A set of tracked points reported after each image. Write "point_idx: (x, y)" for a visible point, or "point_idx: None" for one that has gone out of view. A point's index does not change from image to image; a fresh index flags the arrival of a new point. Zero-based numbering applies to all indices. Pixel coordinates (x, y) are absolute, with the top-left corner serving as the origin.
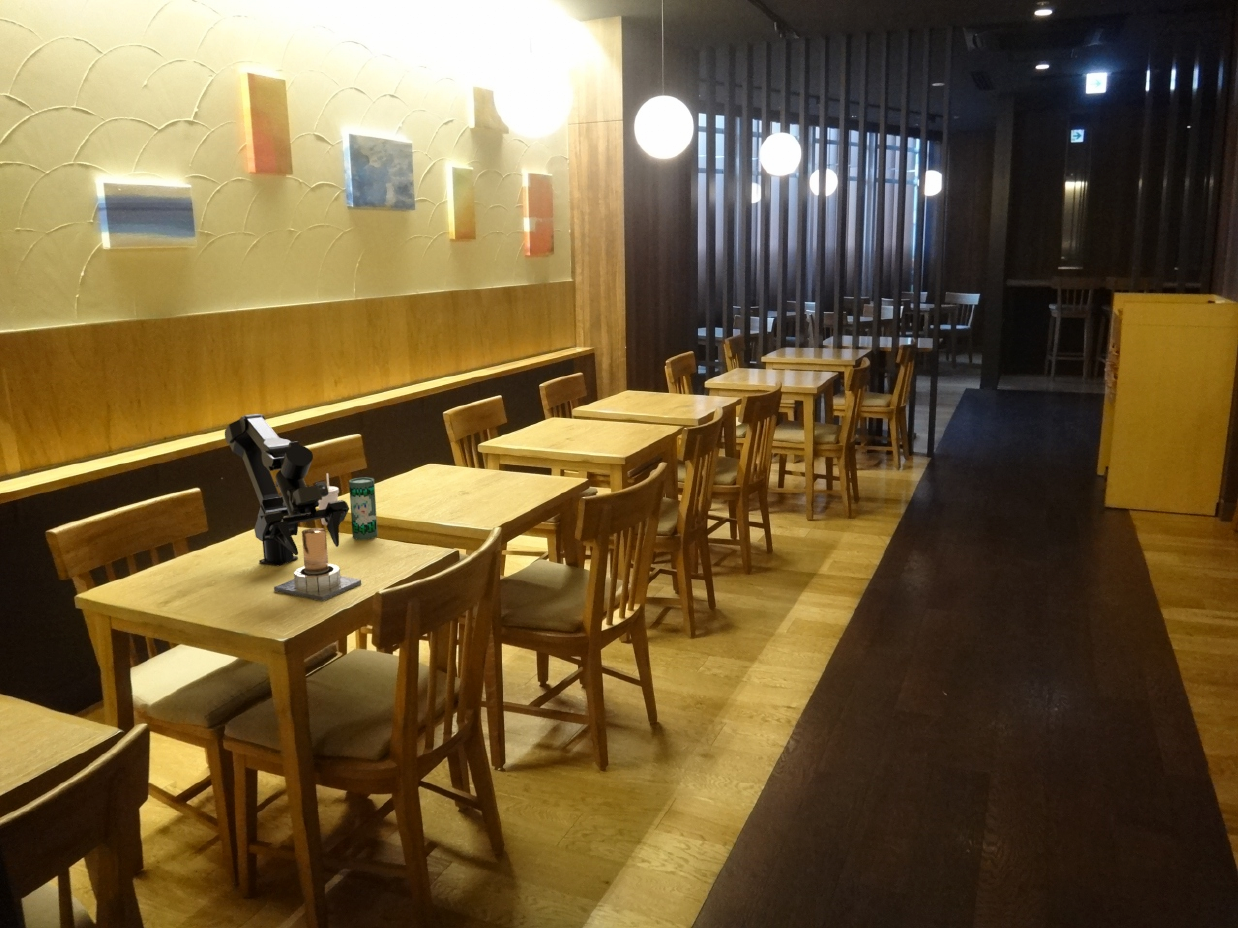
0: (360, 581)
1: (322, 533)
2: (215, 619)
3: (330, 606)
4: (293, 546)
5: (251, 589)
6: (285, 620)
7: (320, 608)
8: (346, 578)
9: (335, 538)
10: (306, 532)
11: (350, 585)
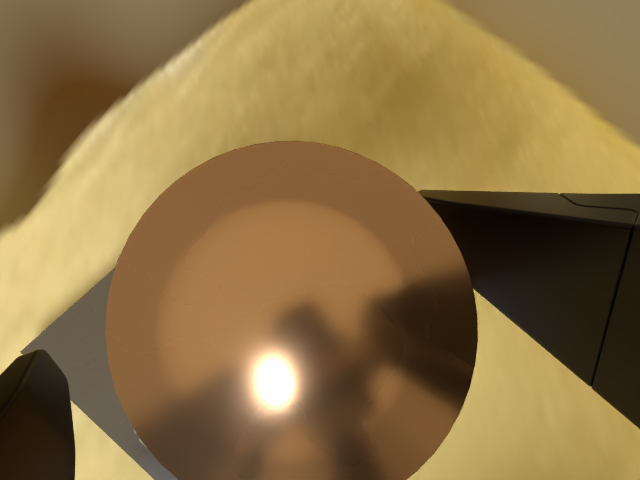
0: (29, 347)
1: (174, 192)
2: (567, 121)
3: (211, 108)
4: (469, 195)
5: (554, 403)
6: (359, 43)
7: (249, 101)
8: (103, 397)
9: (19, 390)
10: (406, 261)
11: (97, 287)
